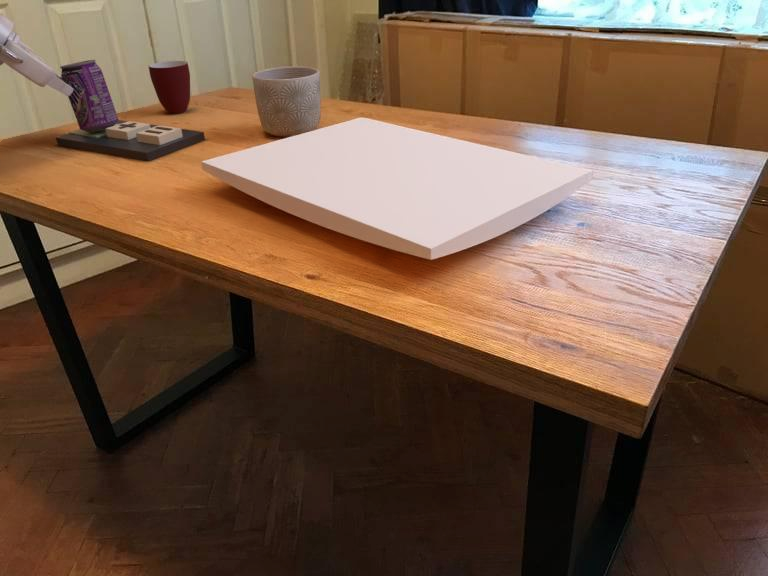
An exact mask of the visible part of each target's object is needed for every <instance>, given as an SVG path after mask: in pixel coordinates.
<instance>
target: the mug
mask: <svg viewBox="0 0 768 576" xmlns="http://www.w3.org/2000/svg"><path fill="white" fill-rule="evenodd" d="M148 71H149V77H150V80H151V83H152V86H153V89H154V92H155V94H156V96H157V99H158V101H159V103H160V105H161V106H162V107H163V109H164V111H165V112H166V113H168V114H170V115H179V114H183V113H186V112H187V111H188V108H189V104H190V100H191V72H190V68H189V63H188V61H185V60H170V61H169V60H167V61H159V62H154V63H151V64H149V65H148Z"/></svg>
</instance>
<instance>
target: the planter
mask: <svg viewBox="0 0 768 576" xmlns="http://www.w3.org/2000/svg"><path fill="white" fill-rule="evenodd" d="M320 73H321V72H320V69H318V68H315V67H311V66H297V65H296V66H278V67H271V68H270V67H269V68H266V69H265V68H264V69H261V70H258V71H255V72H253V73H252V74H251V77H252V78H251V79H252V85H253V91H254V92H253V93H254V98H255V104H256V108H257V114H258V118H259V122H260V126H261V127H262V129H263V131H265V132H266V133H268V134H270V135H271V136H276V137H282V138H283V137H284V138H288V137H292V136H295V135H299V134H303V133H306V132H310V131H314V130H317V129H318V128H319V125H320V124H321V115H322V98H321V97H322V96H321V75H320Z"/></svg>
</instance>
